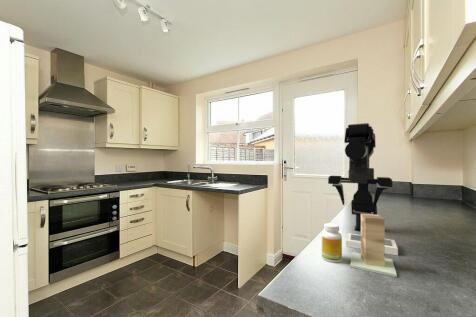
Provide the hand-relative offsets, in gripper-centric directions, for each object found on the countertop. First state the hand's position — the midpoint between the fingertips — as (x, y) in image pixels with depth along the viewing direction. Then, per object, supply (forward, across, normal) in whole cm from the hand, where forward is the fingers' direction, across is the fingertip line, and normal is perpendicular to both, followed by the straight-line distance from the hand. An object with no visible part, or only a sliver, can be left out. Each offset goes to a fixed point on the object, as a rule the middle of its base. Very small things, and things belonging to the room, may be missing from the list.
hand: (358, 206), depth 76 cm
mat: (+13, +4, -15) cm, 20 cm away
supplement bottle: (+13, -6, -17) cm, 22 cm away
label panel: (+13, +4, 0) cm, 13 cm away
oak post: (+12, +4, -15) cm, 20 cm away
